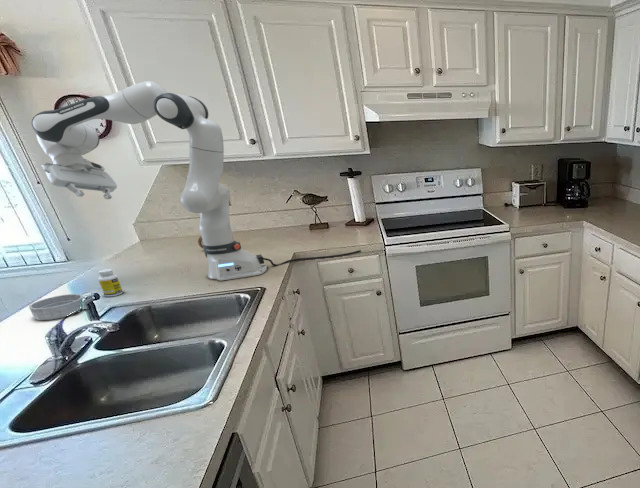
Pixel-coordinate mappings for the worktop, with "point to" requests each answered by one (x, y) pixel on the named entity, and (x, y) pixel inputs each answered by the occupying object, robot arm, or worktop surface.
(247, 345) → the worktop surface
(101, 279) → the supplement bottle
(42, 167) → the robot arm
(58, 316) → the grey shallow bowl
